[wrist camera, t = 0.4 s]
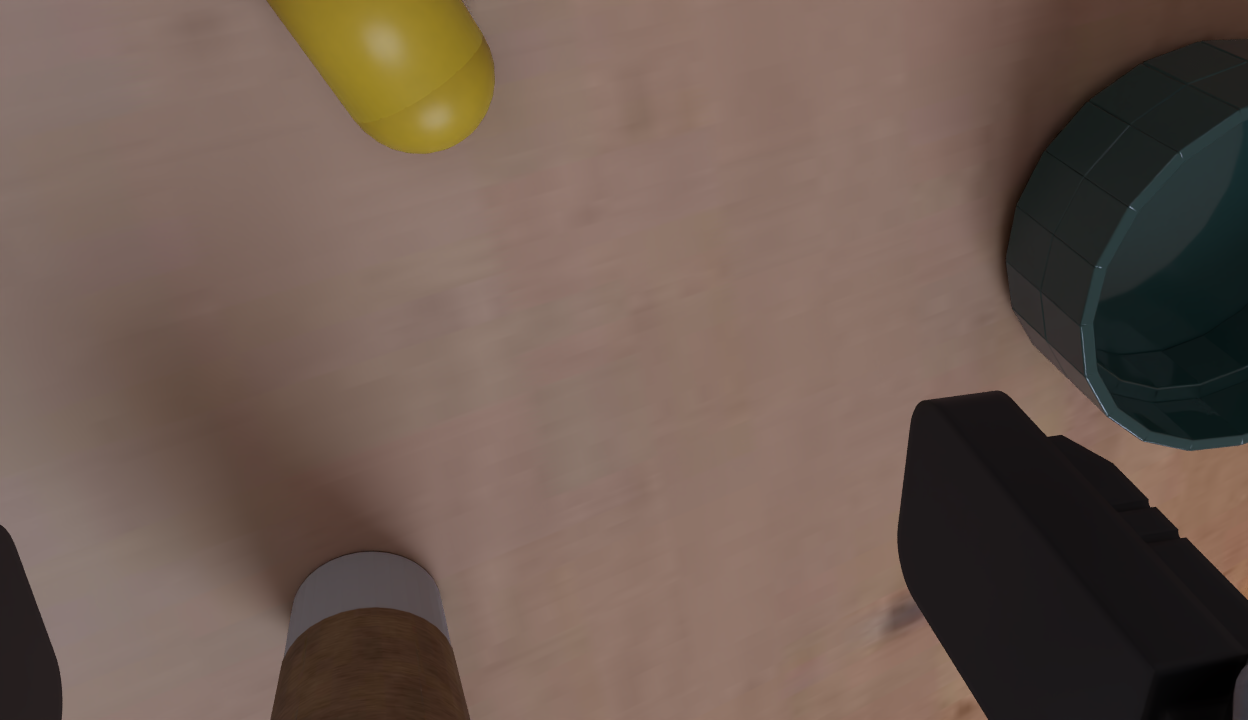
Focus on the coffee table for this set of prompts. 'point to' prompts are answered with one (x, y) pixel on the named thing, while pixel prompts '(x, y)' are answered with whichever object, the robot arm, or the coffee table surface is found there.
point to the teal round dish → (1147, 249)
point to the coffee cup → (369, 645)
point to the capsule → (398, 66)
